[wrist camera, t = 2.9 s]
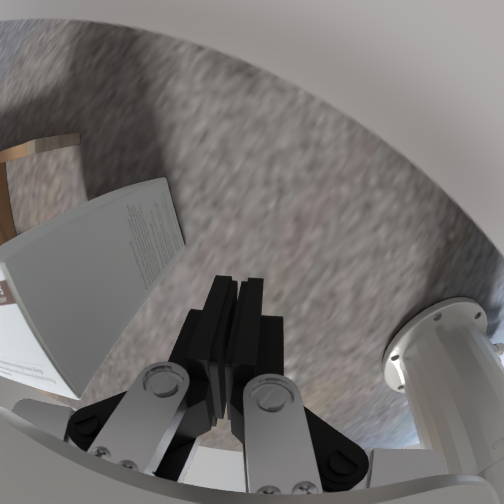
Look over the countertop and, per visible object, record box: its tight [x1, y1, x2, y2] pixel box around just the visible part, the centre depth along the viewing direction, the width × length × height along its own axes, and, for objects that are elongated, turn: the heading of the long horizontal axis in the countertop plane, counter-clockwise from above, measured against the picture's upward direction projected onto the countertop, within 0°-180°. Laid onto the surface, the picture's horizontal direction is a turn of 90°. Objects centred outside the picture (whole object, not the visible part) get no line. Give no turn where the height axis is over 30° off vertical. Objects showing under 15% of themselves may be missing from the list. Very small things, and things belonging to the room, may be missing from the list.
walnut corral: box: [0, 132, 80, 246], centre depth 19 cm, size 14×15×5 cm
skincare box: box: [0, 177, 185, 400], centre depth 13 cm, size 8×6×15 cm
